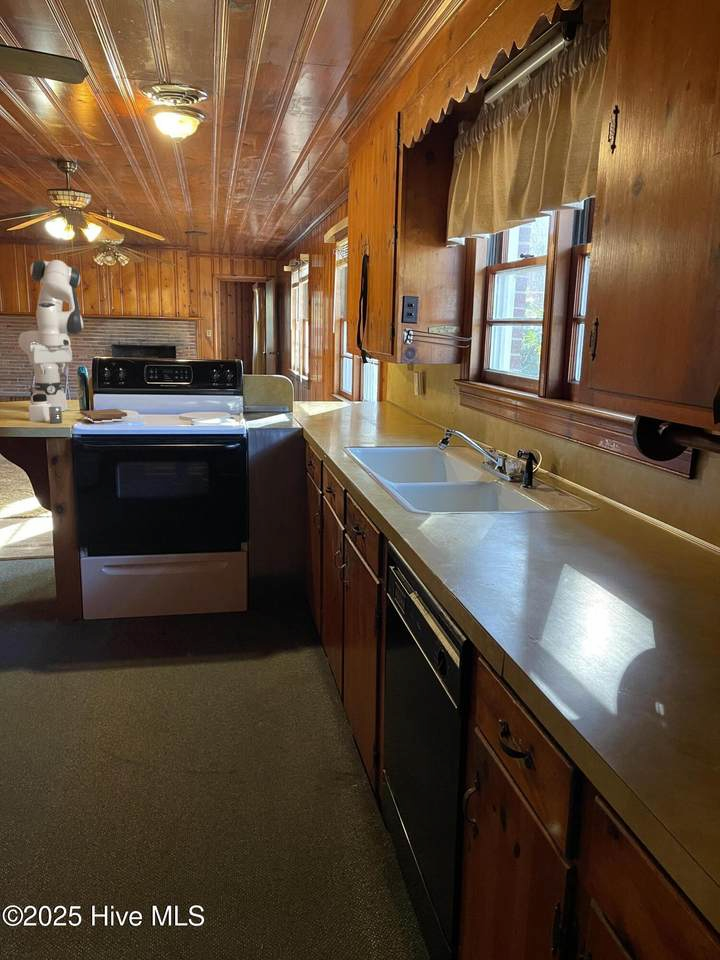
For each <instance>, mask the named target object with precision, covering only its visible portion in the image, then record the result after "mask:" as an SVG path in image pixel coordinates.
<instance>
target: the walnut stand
mask: <svg viewBox="0 0 720 960" xmlns="http://www.w3.org/2000/svg"><path fill="white" fill-rule="evenodd" d="M80 412H81V413H80V414H81V416H83V417H86V418H90V419H92V420H93V421H102V420H112V419H122V418H124V417H125V418H126V417H128V413H127V412H125V411H122V410H120V409H117V408H110V409H93V410H81V411H80Z"/></svg>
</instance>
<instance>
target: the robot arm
mask: <svg viewBox="0 0 720 960" xmlns="http://www.w3.org/2000/svg"><path fill="white" fill-rule="evenodd" d="M29 273H30V275H31V276H30V277H31V278H32V280H33V281H35V282H37V283H42V286H41V289H40V291H39V295H38V300H37V306H36V314H35V316H36V318H35V319H36V320H35V322H36V328H38V330H32V329H31V330H27V331H23V332H21V333H20V335H19V336H18V346H19V347H20V348H19V349H21V350H22V351H23V352H24V353H25V354H26V355H27V356H28V361H29V362H28V363H30V364H31V365H32V366H33V369H34V371H33V372H34V378H35V382H34V390H35V391H34V394H45V395H46V396H47V403H46V404H51V407H61V412H66V411H70V410H71V407H69V406H68V405H67V404H68V403H67V397H66V393H65V392H64V391H62V388H63V387H62V386H63V385H62V382H61V378H60V377H61V376H60V375H61V374H64V373H65V372H64V371H65V370H64V369H65V367H66V363H72V360H73V351H72V348H71V345H72V342H71V338H70V337H69V335H79V334H80V333H81V332H82V331H83V329H84V321H83V317H82V315H81V308H80V304H79V297H78V294H77V291H76V289H77V288H78V287H79V285H80V283H81V273H80V271H79V269H77V268H75V267H72V266H71V267H70V266H69V265H67V264H66V263H65V262H64V261H62V260H60V259H52V260H50V261H49V260H43V259H35V260H34V261H33V262H32V264H31V265H30V269H29ZM64 302H65V303H67V304H69V310H67V311H63V305H64V304H63V303H64ZM68 334H69V335H68ZM58 364H59V365H58ZM29 400H30V403H31V405H33V403H32V397H30V399H29Z"/></svg>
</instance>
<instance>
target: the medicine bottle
mask: <svg viewBox="0 0 720 960" xmlns="http://www.w3.org/2000/svg"><path fill="white" fill-rule="evenodd" d="M31 398H32V403H33V405H32V403H31V405H28V414H29V415H28V416H29V421H30V422H42V421H44V422H47V421H50V416H49V407H51V404H46V403H47V396H46V395H45V394H32V395H31Z"/></svg>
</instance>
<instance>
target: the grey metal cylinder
mask: <svg viewBox="0 0 720 960" xmlns="http://www.w3.org/2000/svg"><path fill="white" fill-rule="evenodd" d="M49 416H50V420H49V424H53V425H55V424H56V425H59V424H62V423H63V417H62V416H63V413H62V411H61V407H49Z"/></svg>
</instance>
